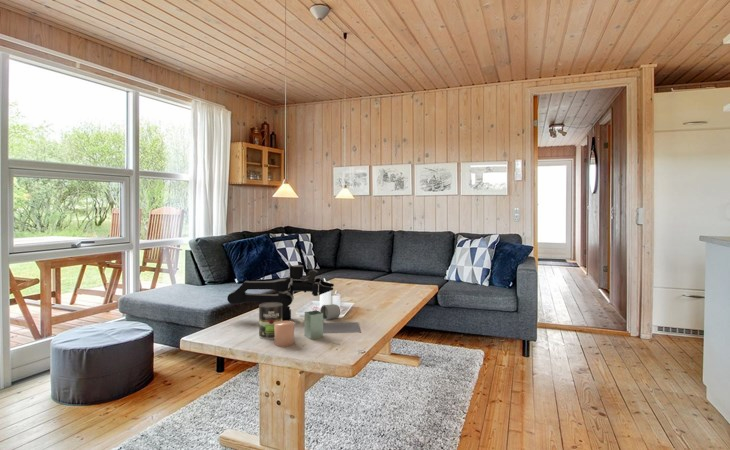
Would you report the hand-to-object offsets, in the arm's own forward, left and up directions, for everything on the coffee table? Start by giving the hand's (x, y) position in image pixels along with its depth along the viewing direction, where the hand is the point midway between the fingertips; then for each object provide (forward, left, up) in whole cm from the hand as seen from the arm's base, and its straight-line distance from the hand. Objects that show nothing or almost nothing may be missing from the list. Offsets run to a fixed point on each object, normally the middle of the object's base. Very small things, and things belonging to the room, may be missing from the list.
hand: (333, 286), depth 207 cm
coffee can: (-28, -25, -17) cm, 41 cm away
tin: (-9, -29, -17) cm, 34 cm away
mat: (+3, -17, -17) cm, 24 cm away
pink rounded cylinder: (-21, -37, -17) cm, 45 cm away
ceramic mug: (-2, +2, -17) cm, 17 cm away
